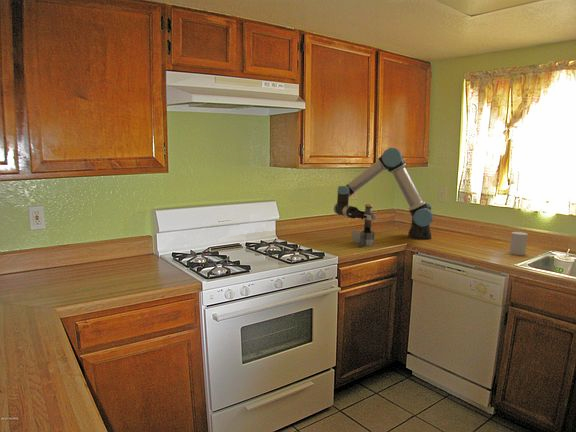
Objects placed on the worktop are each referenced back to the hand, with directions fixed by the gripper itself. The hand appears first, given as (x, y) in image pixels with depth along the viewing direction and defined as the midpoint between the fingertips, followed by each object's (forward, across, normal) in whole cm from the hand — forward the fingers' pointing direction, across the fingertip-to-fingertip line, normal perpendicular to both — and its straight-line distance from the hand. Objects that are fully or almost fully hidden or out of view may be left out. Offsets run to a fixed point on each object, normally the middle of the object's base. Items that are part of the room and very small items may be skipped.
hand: (373, 217), depth 251 cm
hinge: (-6, +4, -18) cm, 19 cm away
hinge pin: (-5, 0, -9) cm, 10 cm away
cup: (+46, -70, -17) cm, 85 cm away
